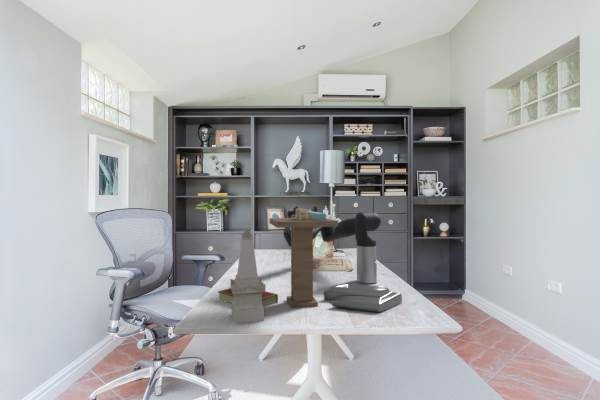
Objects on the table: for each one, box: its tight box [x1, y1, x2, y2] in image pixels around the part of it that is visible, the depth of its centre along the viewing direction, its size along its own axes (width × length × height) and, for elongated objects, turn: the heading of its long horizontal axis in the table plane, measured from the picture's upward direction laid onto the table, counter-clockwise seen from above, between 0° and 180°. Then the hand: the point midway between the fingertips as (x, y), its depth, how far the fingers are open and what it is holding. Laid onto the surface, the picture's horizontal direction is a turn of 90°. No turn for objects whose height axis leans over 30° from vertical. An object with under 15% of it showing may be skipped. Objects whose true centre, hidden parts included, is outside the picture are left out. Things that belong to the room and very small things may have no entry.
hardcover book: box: [217, 287, 279, 308], centre depth 135 cm, size 12×21×4 cm, turn 52°
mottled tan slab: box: [313, 257, 355, 273], centre depth 203 cm, size 28×6×30 cm
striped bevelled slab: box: [323, 283, 403, 313], centre depth 134 cm, size 28×5×28 cm
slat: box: [307, 210, 327, 221], centre depth 139 cm, size 28×3×2 cm, turn 12°
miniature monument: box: [230, 228, 266, 325], centre depth 117 cm, size 10×10×30 cm
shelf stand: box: [269, 208, 339, 309], centre depth 132 cm, size 22×22×36 cm
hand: (306, 208), depth 153 cm, fingers open, 8 cm apart
